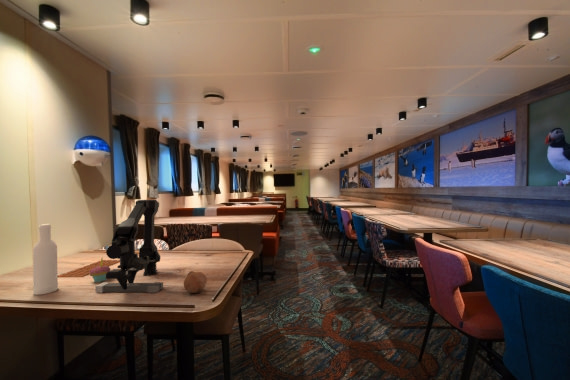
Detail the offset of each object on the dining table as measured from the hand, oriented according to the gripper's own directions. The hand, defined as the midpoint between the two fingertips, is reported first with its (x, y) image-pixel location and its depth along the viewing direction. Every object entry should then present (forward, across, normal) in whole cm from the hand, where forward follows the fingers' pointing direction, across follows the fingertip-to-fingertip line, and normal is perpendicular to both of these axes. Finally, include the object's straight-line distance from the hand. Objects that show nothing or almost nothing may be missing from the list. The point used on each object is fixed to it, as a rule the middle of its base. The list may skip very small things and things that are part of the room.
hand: (128, 287), depth 108 cm
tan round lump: (+2, -2, -31) cm, 31 cm away
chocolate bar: (+2, +32, +43) cm, 54 cm away
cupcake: (+1, +12, +23) cm, 26 cm away
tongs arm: (+1, +1, -3) cm, 3 cm away
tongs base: (+1, 0, -1) cm, 1 cm away
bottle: (+1, -1, +38) cm, 38 cm away
